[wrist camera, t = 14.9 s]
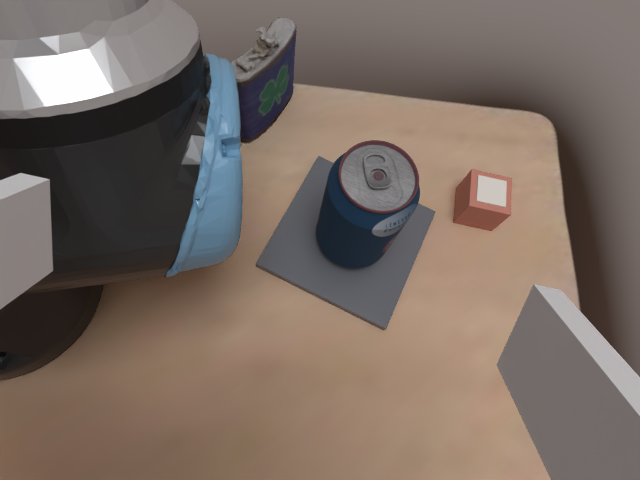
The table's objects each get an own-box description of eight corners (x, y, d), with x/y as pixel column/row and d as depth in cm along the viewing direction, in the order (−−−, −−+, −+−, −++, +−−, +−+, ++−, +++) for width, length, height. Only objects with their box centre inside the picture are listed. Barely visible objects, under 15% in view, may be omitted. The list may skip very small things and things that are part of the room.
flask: (279, 78, 49) (281, -6, 39) (301, 92, 49) (308, 10, 39) (227, 135, 46) (215, 58, 36) (250, 150, 45) (245, 76, 35)
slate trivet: (256, 266, 41) (256, 263, 40) (317, 160, 46) (318, 156, 45) (383, 330, 40) (385, 328, 39) (432, 215, 45) (435, 211, 44)
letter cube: (452, 222, 45) (470, 204, 41) (455, 188, 46) (472, 168, 42) (491, 231, 45) (511, 214, 41) (492, 197, 46) (512, 177, 42)
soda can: (392, 268, 41) (437, 216, 30) (319, 275, 40) (337, 223, 29) (379, 202, 44) (416, 130, 32) (310, 207, 43) (323, 135, 32)
